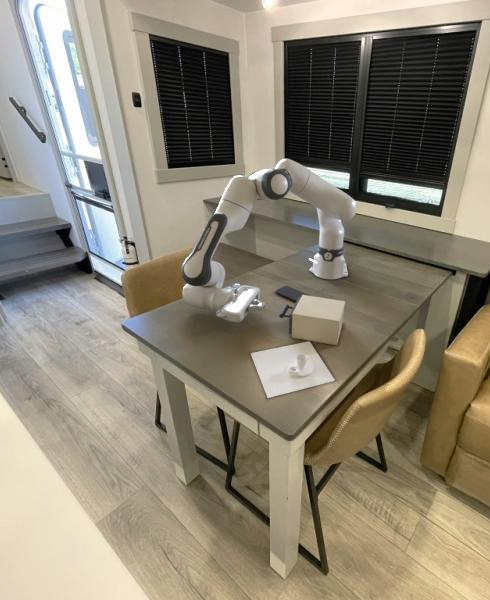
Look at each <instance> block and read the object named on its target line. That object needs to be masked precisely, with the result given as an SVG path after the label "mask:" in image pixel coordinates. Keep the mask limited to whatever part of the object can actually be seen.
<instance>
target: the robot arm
mask: <svg viewBox="0 0 490 600" xmlns="http://www.w3.org/2000/svg"><path fill="white" fill-rule="evenodd" d="M289 192H290V193H292V194H293V195H295V196H296V197H297V198H300V199H302V200H303V201H305V202H306V203H308V204H309V205H311V206H312V207H313V206H314V207H315V208H316V211H317V217H318V218H317V219H318V225H319V239H318V244H317V253H316V254H315V255H314V256H313V259H312V258H309V259H308V260H309V261H311V262H313V265H312V266H311V267H310V268H309V272H310V273H312V274H314V276H316V277H318V278H320V279H324V280H338V279H341V278H347V277H348V276H349V272H348V267H347V263H346V258H345V257H344V251H345V250H344V240H345V239H344V237H345V229H344V226H343V223H342V221H344V222H346V221H350V220H351V219H353V218H354V216H356V213H357V212H358V211H357V210H358V204H357V201H356V200H355V199H354V198H353V197H351V196H350V195H349V194H347V193H346V192H344V191H343V190H341V189H339V188H338V187H336V186H335V185H333V184H332V183H331V182H328V181H327V180H325V179H323V178H321V177H320V176H319V175H318V174H316V173H314V172H313V171H312V170H311V169H309V168H307V167H306V166H304V165H303V164H301V163H299V162H297V161H294V160H293V159H290V158H282V159H281V160H279V161H278V162H277V164H276V166H275V168H265V169H261V170H258V171H254V172H252V173H250V174H249V175H247V176H245V175H240V174H239V175H235V176H233V177H232V178H231V179H230V181H229V182H228V184H227V185H226V187H225V190H224V192H223V194H222V195H221V198H220V201H219V203H218V206H217V207H216V210H215V212H213V214H212V215H211V217H210V218H209V219H208V221H207V223H206V225H205V226H204V229H203V230H202V232H201V234H200V236H199V238H198V240H197V242H196V244H195V246H194V248H193V250H192V251H191V253H190V254H189V255H188V256H187V257H186V258H185V259H184V261H183V263H182V265H181V270H180V273H181V276H182V279H183V281H184V282H185V283H186V284H185V285H184V286H183V288H182V293H181V295H182V299H183V301H184V303H185V304H186V305H187V306H189V307H192V308H195V309H199V310H204V311H207V310H208V311H209V310H212V311H214V312H215V315H216V316H217V317H218V318H221V319H222V320H224V321H228V322H231V323H236V324H238V323H242V322H243V320H244V319H245V317H246V316H247V315H248V314H249V312H256V311H258V312H259V311H260V312H262V311H263V310H264V309H265V308H266V303H265V302H263V301H260V300H259V299H260V298H261V297H262V296H261V295H262V294H261V289H260V288H259V287H256V286H251V285H241V284H240V283H234V284H232V285H230V286H226V287H223V286H224V284H225V280H226V276H227V274H226V273H227V272H226V268H225V266H224V265H223V264H222V263H220V262H218V261H215V260H214V259H213V257H214V255H215V252H216V250H217V248H218V246H219V244H220V242H221V240H222V239H223V238H224V237H225V236H226V235H228V234H230V233H233V232H238V231H240V230H242V229H243V228H244V226H245V225H246V223H247V222H248V219H249V218H250V215H251V212H252V209H253V206H254V204H255V203H256V201H267V202H269V201H278V200H281V199H283V198H285V197H286V196H287V195H288V193H289Z"/></svg>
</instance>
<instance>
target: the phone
mask: <svg viewBox="0 0 490 600" xmlns="http://www.w3.org/2000/svg"><path fill="white" fill-rule="evenodd" d="M275 294H277V295H280V296H282V297H284V298H286V299H288V300H290V301H293V302H295V303H296V301H297V300H298V298H299V297H302V295H307V296H311V295H310V294H308V293H306V292H303V291H301V290H298V289H296V288H294V287H292V286H289V285H284V286H282V287H279V288H277V289H276V290H275Z"/></svg>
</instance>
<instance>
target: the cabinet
mask: <svg viewBox="0 0 490 600" xmlns="http://www.w3.org/2000/svg"><path fill="white" fill-rule="evenodd" d="M345 306H346V301H345V300H338V299H332V298H325V297H319V296H313V295H310V296H307V295H302V297H301V299H300V300H299V302H298V304H297V306H296V308H295V310H294V312H293V314H292V334H291V338H292V339H298V340H303V341H310V342H314V343H321V344H327V345H333V346H338V342H339V338H340V335H341V331H342V327H343V322H344V315H345Z"/></svg>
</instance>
